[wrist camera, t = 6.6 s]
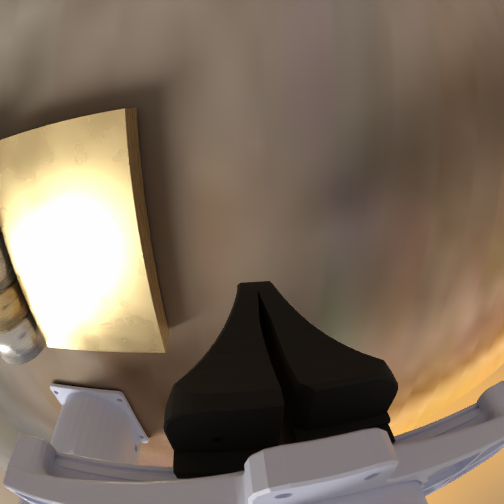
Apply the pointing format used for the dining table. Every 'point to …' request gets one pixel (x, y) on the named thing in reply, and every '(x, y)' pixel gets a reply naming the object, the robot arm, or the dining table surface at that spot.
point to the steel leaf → (26, 330)
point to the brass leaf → (81, 236)
